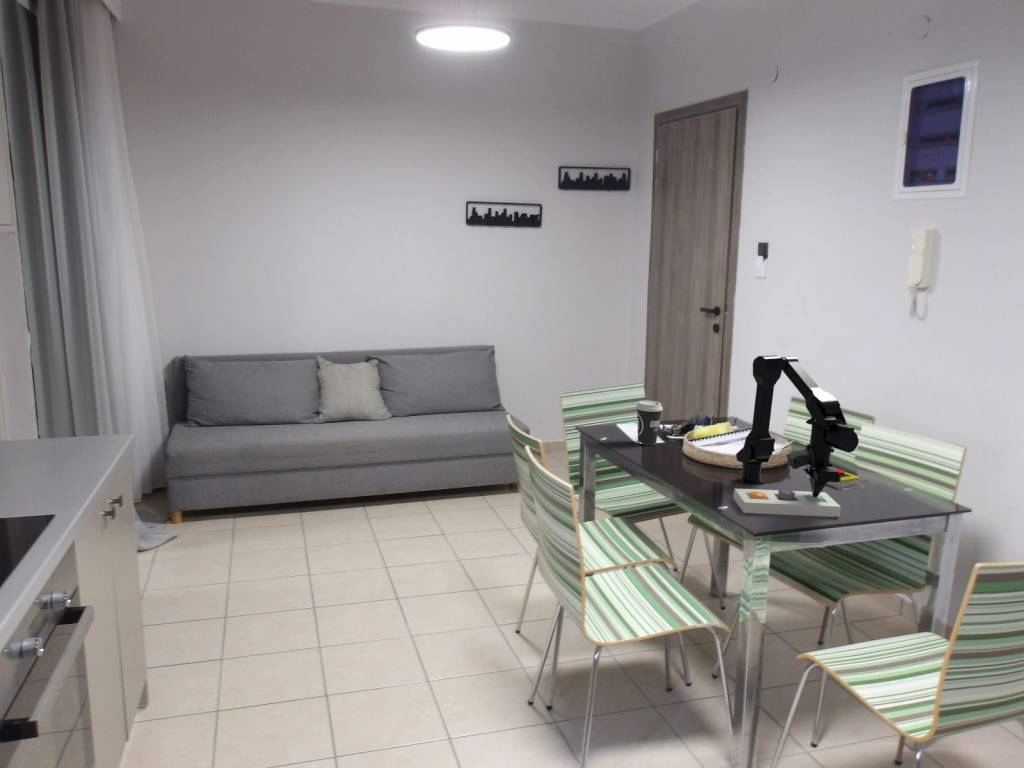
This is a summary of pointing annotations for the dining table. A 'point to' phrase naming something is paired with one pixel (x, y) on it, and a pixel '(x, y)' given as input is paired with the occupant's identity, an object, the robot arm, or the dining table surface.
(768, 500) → the button panel
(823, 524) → the dining table surface
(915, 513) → the dining table surface
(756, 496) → the orange button
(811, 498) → the teal button
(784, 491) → the charcoal button
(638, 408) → the coffee cup
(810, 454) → the robot arm
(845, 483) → the emergency button
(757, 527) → the dining table surface
